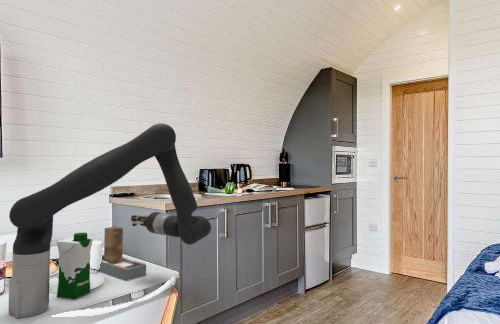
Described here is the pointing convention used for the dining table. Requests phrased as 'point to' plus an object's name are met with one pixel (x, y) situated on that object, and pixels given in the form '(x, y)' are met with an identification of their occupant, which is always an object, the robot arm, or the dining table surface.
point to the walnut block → (113, 245)
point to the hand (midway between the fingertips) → (132, 218)
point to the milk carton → (74, 266)
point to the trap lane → (123, 269)
